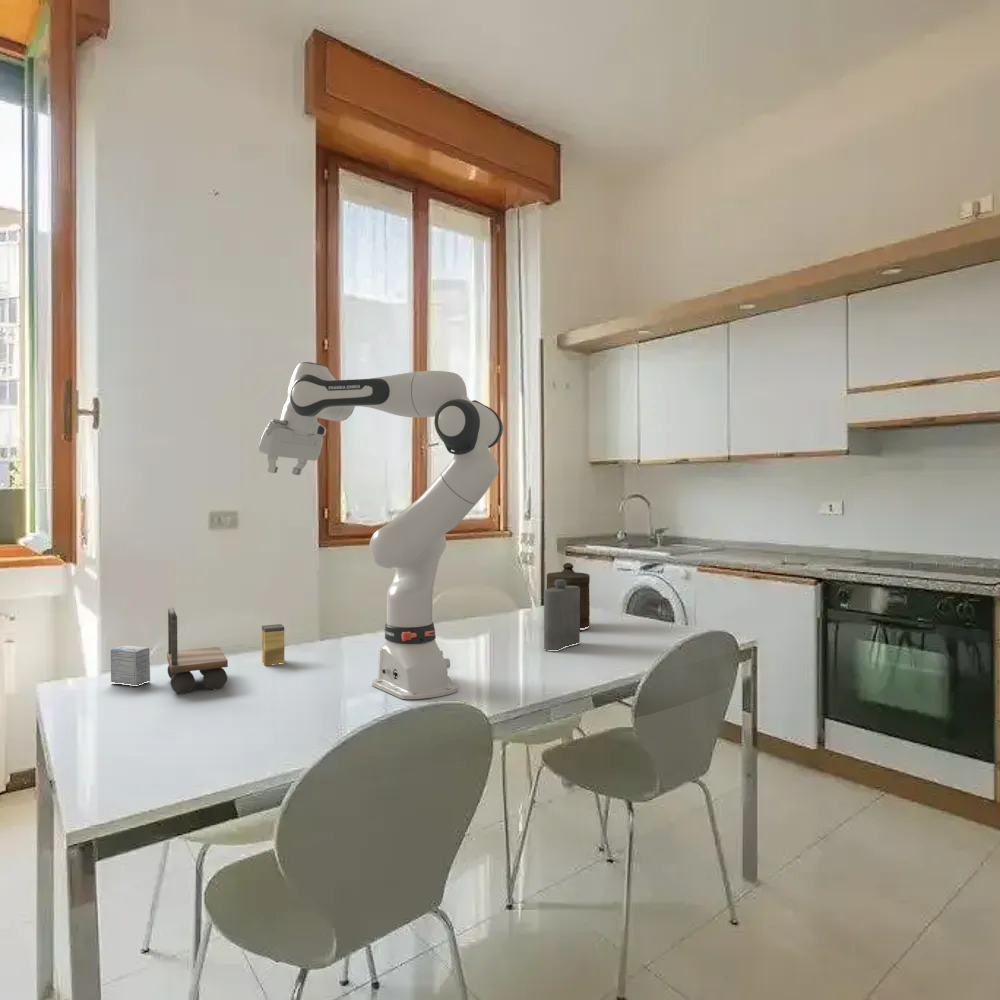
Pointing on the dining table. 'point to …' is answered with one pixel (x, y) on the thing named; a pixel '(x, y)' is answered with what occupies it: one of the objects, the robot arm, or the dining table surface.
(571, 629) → the flask
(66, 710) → the dining table surface
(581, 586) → the wooden container
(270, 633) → the chock block
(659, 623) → the dining table surface
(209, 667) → the trolley
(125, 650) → the grey wood-grain block
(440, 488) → the robot arm
